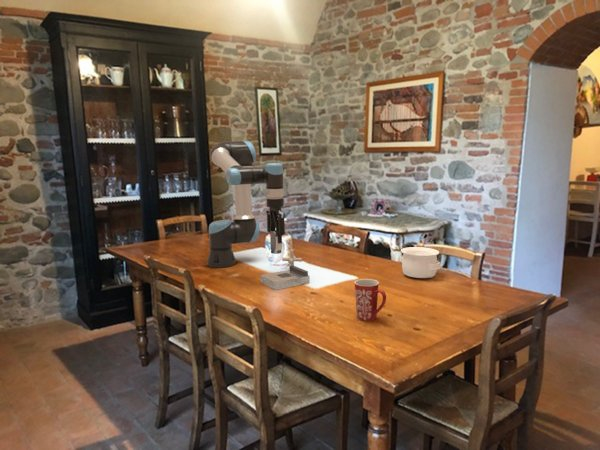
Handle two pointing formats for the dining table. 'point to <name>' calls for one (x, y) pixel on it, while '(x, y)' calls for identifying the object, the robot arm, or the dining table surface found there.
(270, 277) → the block
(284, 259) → the tan toy jack
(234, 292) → the dining table surface
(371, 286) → the mug
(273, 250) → the dark steel cylinder
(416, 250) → the pot
